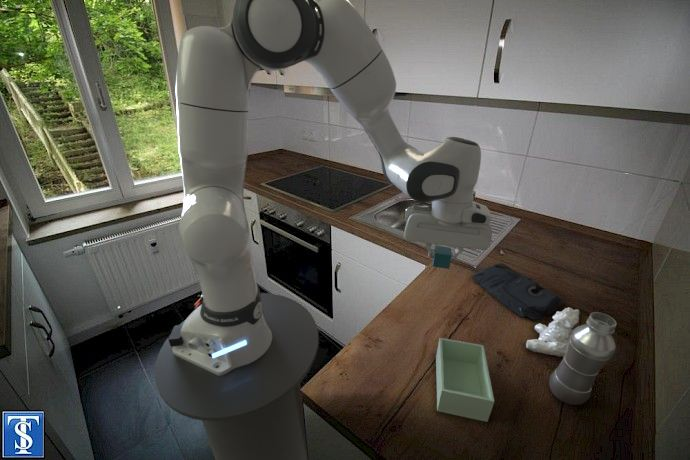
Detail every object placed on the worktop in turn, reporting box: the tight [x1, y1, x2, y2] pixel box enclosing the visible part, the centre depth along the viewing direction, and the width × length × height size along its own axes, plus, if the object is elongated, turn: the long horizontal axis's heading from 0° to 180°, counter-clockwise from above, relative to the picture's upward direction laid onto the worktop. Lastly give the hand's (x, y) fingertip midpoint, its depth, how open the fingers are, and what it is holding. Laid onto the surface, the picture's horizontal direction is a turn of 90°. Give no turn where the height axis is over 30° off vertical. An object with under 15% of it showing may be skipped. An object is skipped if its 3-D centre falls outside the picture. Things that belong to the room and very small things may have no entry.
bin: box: [435, 337, 496, 423], centre depth 63 cm, size 6×13×9 cm
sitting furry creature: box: [525, 306, 580, 358], centre depth 71 cm, size 10×9×12 cm
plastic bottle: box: [548, 311, 617, 406], centre depth 58 cm, size 6×7×20 cm
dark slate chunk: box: [471, 262, 565, 321], centre depth 91 cm, size 15×22×5 cm
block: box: [432, 245, 452, 270], centre depth 80 cm, size 4×4×4 cm
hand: (441, 258), depth 80 cm, fingers closed on block, 4 cm apart
